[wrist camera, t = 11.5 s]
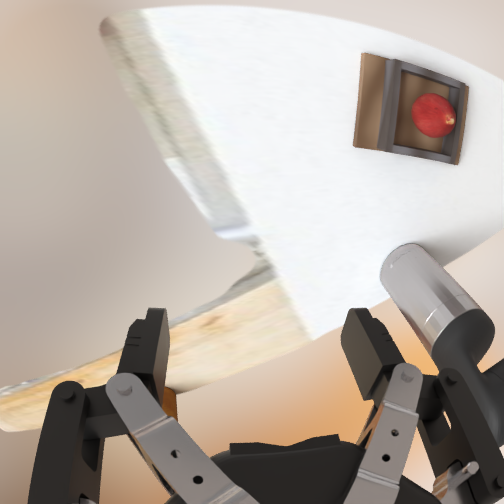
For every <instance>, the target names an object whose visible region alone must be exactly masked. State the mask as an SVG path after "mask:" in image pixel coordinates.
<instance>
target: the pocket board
mask: <svg viewBox="0 0 504 504" xmlns="http://www.w3.org/2000/svg"><path fill="white" fill-rule="evenodd" d="M468 89H469V87H468V86H466V85H465V83H462V82H460V81H457V80H455V79H452V78H450V77H447V76H445V75H442V74H439V73H436V72H434V71H431V70H428V69H425V68H422V67H419V66H416V65H413V64H410V63H406V62H403V61H400V60H396V59H387V58H384V57H380V56H376V55H372V54H368V53H361V68H360V81H359V93H358V104H357V114H356V123H355V132H354V140H353V146H354V147H357V148H365V149H372V150H379V151H385V152H390V153H397V154H403V155H408V156H414V157H419V158H425V159H430V160H435V161H440V162H444V163H449V164H454V165H458V163H459V157H460V152H461V146H462V140H463V133H464V126H465V118H466V110H467V100H468ZM426 93H435V94H438V95H441V96H443V97H444V98H446V99H447V100H448V101H449V102H450V104H451V105H452V106H453V109H454V111H455V114H456V123H455V126H454V128H453V130H452V131H451V132H450V133H449V134H447V135H446V136H444V137H440V138H431V137H428V136H426V135H424V134H423V133H421V132H420V131H419V130H418V128H417V127H416V126H415V124H414V122H413V119H412V115H411V109H412V105H413V103H414V102H415V100H416V99H417V98H418V97H419V96H421V95H423V94H426Z"/></svg>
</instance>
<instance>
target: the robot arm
mask: <svg viewBox="0 0 504 504" xmlns="http://www.w3.org/2000/svg"><path fill="white" fill-rule="evenodd" d="M380 279H381V283H382V285H383V286H384V288H385V289H386V291H387V292H388V294H389V295H390V296H391V298H392V299H393V301H394V302H395V304H396V305H397V306H398V308H399V310H400V311H401V313H402V314H403V315H404V317H405V318H406V320H407V321H408V323H409V324H410V326H411V327H412V329H413V330H414V332H415V333H416V335H417V337H418V338H419V340H420V341H421V343H422V344H423V346H424V347H425V349H426V350H427V352H428V353H429V355H430V357H431V358H432V360H433V361H434V363H435V365H436V366H437V368H438V370H439V374H438V375H437V376H434V375H425V374H422V373H421V371H420V370H419V369H418V368H417V367H416V366H414V365H412V364H409V363H406V362H405V360H404V359H403V357H402V355H401V353H400V351H399V350H398V348H397V346H396V344H395V342H394V341H393V339H392V337H391V336H390V335H389V332H388V330H387V329H386V327H385V325H384V324H383V323H382V322H380V321H379V320H378V319H377V318H372V316H371V314H370V312H369V310H368V309H367V308H351V309H350V310H349V311H348V314H347V317H346V321H345V324H344V327H343V330H342V334H341V345H342V348H343V350H344V353H345V355H346V358H347V360H348V363H349V365H350V367H351V370H352V372H353V375H354V377H355V380H356V382H357V385H358V387H359V390H360V392H361V395H362V397H363V400H364V401H365V400H371V399H373V401H374V405H373V406H372V409H371V411H370V414H369V416H368V418H367V421H366V423H365V426H364V428H363V430H362V432H361V435H360V437H359V439H358V441H357V442H356V444H353V443H350V442H345V441H340V439H339V436H338V434H334V435H327V436H320V437H313V438H310V439H307V440H305V441H302V442H299V443H296V444H293V445H290V446H279V445H271V444H265V443H259V442H254V443H230V449H229V450H228V451H224V452H221V453H218V454H216V455H214V456H212V457H210V458H209V457H208V456H207V455H206V454H205V453H204V452H203V451H202V449H200V447H199V446H198V445H197V444H196V443H195V442H194V441H193V440H192V438H191V437H190V436H189V435H188V434H187V433H186V431H185V430H184V429H183V428H182V427H181V425H180V424H179V423H178V422H177V421H176V420H175V419H174V418H173V417H172V416H168V415H167V414H166V413H165V412H164V411H163V410H162V404H163V395H164V386H165V378H166V370H167V363H168V355H169V348H170V335H169V327H168V318H167V310H166V309H165V308H149V309H148V311H147V315H146V319H145V320H142V319H136V321H135V322H134V323H133V324H132V325H131V326H130V327H129V331H128V334H127V338H126V341H125V346H124V348H123V351H122V355H121V359H120V362H119V366H118V370H117V373H116V375H114V376H113V377H111V378H110V379H109V380H108V382H107V384H105V385H102V386H99V387H92V388H86V389H84V388H83V387H82V385H81V384H79V383H78V382H75V381H65V382H62V383H60V384H58V385H57V386H56V387H55V388H54V390H53V392H52V394H51V398H50V401H49V405H48V408H47V412H46V416H45V419H44V423H43V427H42V431H41V435H40V439H39V444H38V448H37V453H36V457H35V462H34V467H33V472H32V478H31V484H30V490H29V496H28V504H99V495H100V481H101V470H102V459H103V450H104V442H105V438H106V437H112V436H118V435H124V434H126V435H127V436H128V438H129V439H130V441H131V442H132V443H133V445H134V447H135V448H136V449H137V451H138V452H139V454H140V455H141V456H142V458H143V459H144V461H145V462H146V463H147V465H148V466H149V468H150V469H151V471H152V472H153V474H154V475H155V477H156V478H157V479H158V481H159V482H160V483H161V485H162V486H163V487H164V488H165V490H166V491H167V492H168V493H169V495H170V496H171V498H169V500H168V501H167V502H166V503H165V504H494V503H495V502H497V501H499V500H500V499H502V498H503V497H504V458H503V456H502V453H501V451H500V449H499V447H501V446H502V445H504V359H502V360H501V361H499V362H498V363H496V364H495V365H494V366H492V367H491V368H489V369H488V370H486V371H485V372H483V373H481V372H480V370H479V369H478V367H477V364H478V363H479V362H480V360H481V359H482V358H483V356H484V355H485V353H486V352H487V351H488V349H489V348H490V346H491V344H492V341H493V338H494V334H495V327H494V324H493V322H492V320H491V319H490V318H489V316H488V315H487V314H486V313H485V312H484V311H483V310H482V309H481V307H480V306H479V305H478V304H477V303H476V302H475V301H474V300H473V299H472V298H471V297H470V295H469V294H468V293H467V292H466V291H465V290H464V289H463V288H462V287H461V286H460V285H459V284H458V283H457V282H456V281H455V280H454V279H453V278H452V277H451V276H450V275H449V274H448V273H447V272H446V271H445V270H444V269H443V268H442V267H441V266H440V265H439V264H438V263H437V262H436V261H435V259H433V258H432V257H431V256H430V255H429V254H428V253H427V252H426V251H425V250H424V249H423V248H422V247H421V246H419V245H417V244H406V245H403V246H401V247H398V248H397V249H395V250H394V251H393V252H392V253H391V254H390V255H389V256H388V257H387V259H386V260H385V262H384V264H383V266H382V269H381V273H380ZM444 411H445V412H446V414H447V416H448V418H449V421H450V423H451V429H450V427H449V425H448V423H447V421H446V418H445V416H444V414H443V412H444ZM416 426H417V428H418V431H419V433H420V436H421V439H422V441H423V444H424V447H425V450H426V452H427V455H428V458H429V460H430V464H431V466H432V469H433V472H434V475H435V478H436V480H435V481H434V484H433V491H432V493H430V492H428V491H427V490H425V489H423V488H421V487H420V486H419V485H417V484H416V483H414V482H413V481H411V480H409V479H408V478H406V477H405V476H403V475H402V472H403V469H404V466H405V463H406V460H407V457H408V453H409V451H410V447H411V444H412V440H413V437H414V433H415V430H416Z"/></svg>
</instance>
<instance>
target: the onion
mask: <svg viewBox="0 0 504 504" xmlns="http://www.w3.org/2000/svg"><path fill="white" fill-rule="evenodd" d="M411 115H412V119H413V122H414V124H415V126H416V127H417V128H418V130H419V131H420V132H421V133H423V134H424V135H426V136H428V137H431V138H440V137H444V136H446V135H447V134H449V133H450V132H451V131H452V130H453V128H454V126H455V123H456V114H455V111H454V109H453V106H452V105H451V104H450V102H449V101H448V100H447V99H446V98H444V97H443V96H441V95H438V94H435V93H426V94H423V95H421V96H419V97H418V98H417V99H416V100H415V102H414V103H413V105H412V109H411Z"/></svg>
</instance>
